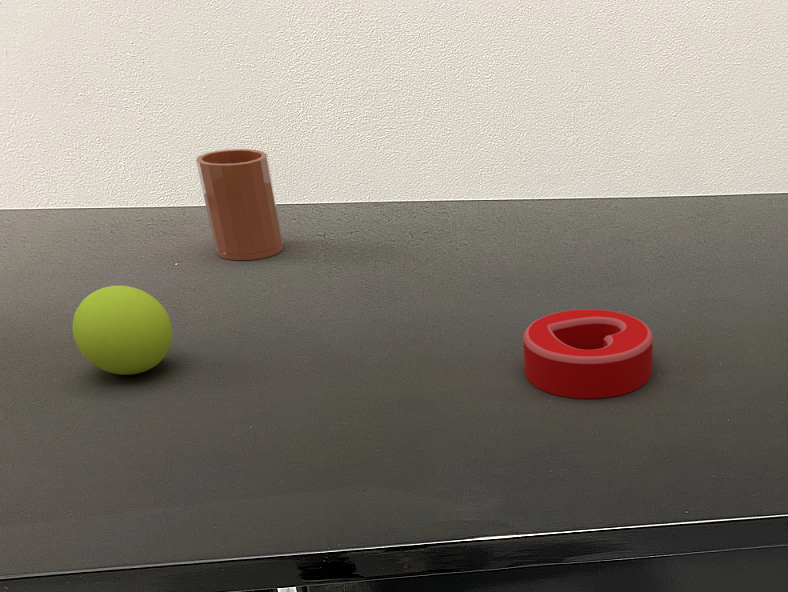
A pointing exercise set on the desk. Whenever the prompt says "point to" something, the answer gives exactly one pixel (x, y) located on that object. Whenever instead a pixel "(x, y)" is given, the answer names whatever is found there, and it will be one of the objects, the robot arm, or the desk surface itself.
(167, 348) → the ball
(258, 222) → the cup
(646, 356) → the decorative ornament
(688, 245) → the desk surface
